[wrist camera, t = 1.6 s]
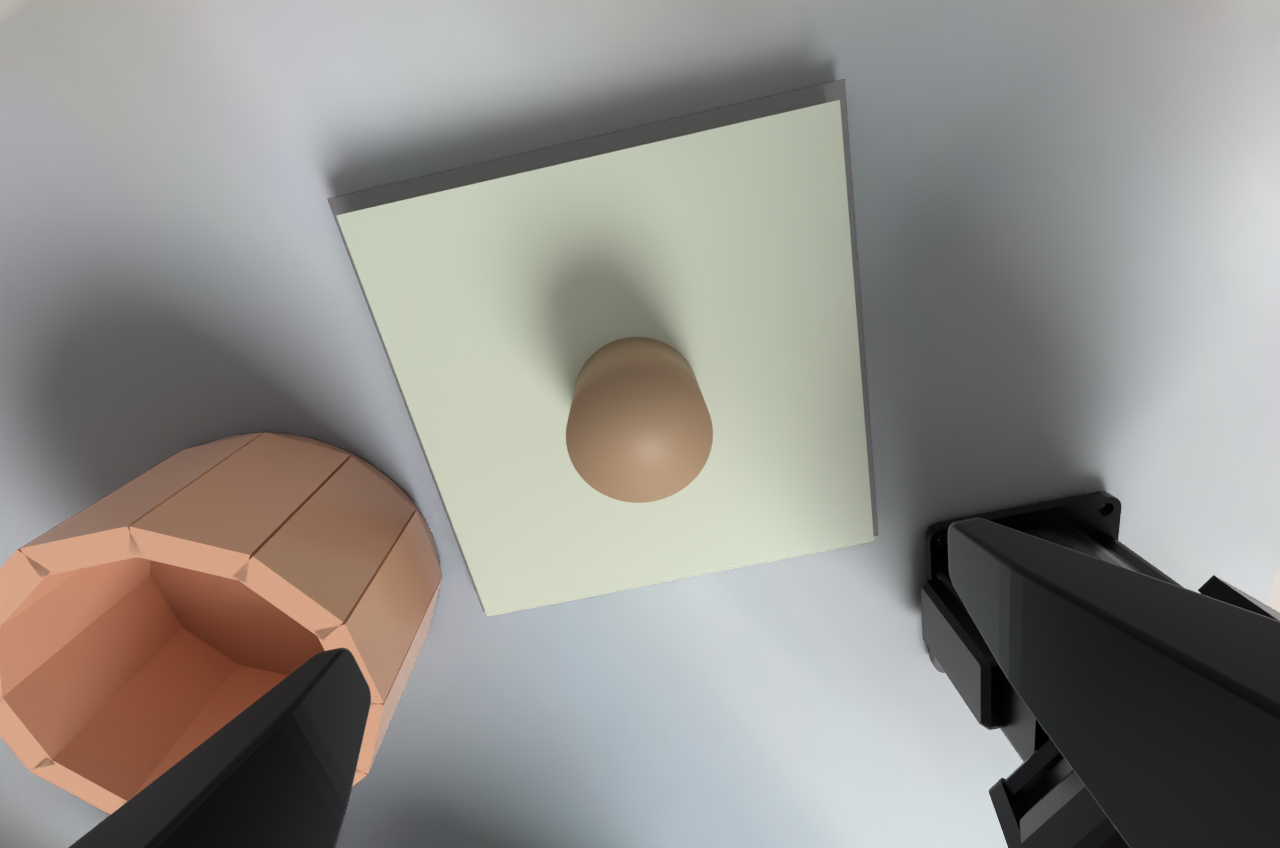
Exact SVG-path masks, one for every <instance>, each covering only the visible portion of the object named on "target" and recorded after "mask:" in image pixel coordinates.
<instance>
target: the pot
mask: <svg viewBox="0 0 1280 848" xmlns="http://www.w3.org/2000/svg"><path fill="white" fill-rule="evenodd" d="M441 580H442V573H441V568H440V561H439V555H438V551H437V548H436V544H435V541H434V538H433V536H432V533H431V531H430V529H429V527H428V525H427V523H426V521H425V519H424V518H423V516H422V515H421V513H420V512H419V510H418V509H417V507H416V506H415V504H414V503H413V502H412V501H411V500H410V498H409V497H408V496H407V495H406V494H405V492H404V491H403V490H402V489H401V488H399V487H398V486H397V485H396V484H395V483H394V482H393V481H392V480H391V479H390V478H389V477H388V476H386V475H385V474H383V473H382V472H381V471H379V470H378V469H377V468H375V467H374V466H373V465H371V464H369V463H368V462H366V461H364V460H363V459H361V458H359V457H358V456H356V455H354V454H352V453H350V452H348V451H345V450H343V449H341V448H339V447H336V446H334V445H331V444H328V443H325V442H322V441H319V440H316V439H312V438H307V437H303V436H298V435H293V434H283V433H273V432H265V433H263V432H262V433H246V434H239V435H233V436H228V437H225V438H221V439H218V440H214V441H211V442H209V443H207V444H204V445H201V446H196V447H191V448H186V449H183V450H181V451H180V452H178V453H176V454H175V455H173V456H172V457H170V458H168V459H167V460H165V461H163V462H162V463H160V464H158V465H157V466H155V467H153V468H152V469H150V470H148V471H147V472H145V473H143V474H142V475H140V476H138V477H137V478H135V479H133V480H132V481H130V482H129V483H127V484H125V485H124V486H122V487H120V488H119V489H117V490H115V491H114V492H112V493H110V494H109V495H107V496H105V497H104V498H102V499H100V500H99V501H97V502H95V503H94V504H92V505H90V506H89V507H87V508H86V509H84V510H82V511H81V512H79V513H77V514H76V515H74V516H72V517H71V518H69V519H67V520H66V521H64V522H62V523H61V524H59V525H57V526H56V527H54V528H52V529H51V530H49V531H48V532H46V533H44V534H43V535H41V536H39V537H38V538H36V539H34V540H33V541H31V542H29V543H28V544H26V545H24V546H23V547H21V548H19V549H18V550H17V551H16V552H15V553H14V554H13V555H12V556H11V557H10V559H9V560H8V561H7V562H6V563H5V564H4V565H3V567H2V568H1V569H0V736H1V738H2V739H3V740H4V741H5V743H6V744H7V745H8V746H9V747H10V749H11V750H12V751H13V752H14V753H15V755H16V756H17V757H18V758H19V760H20V761H21V762H22V763H23V764H24V766H25V767H26V768H27V769H28V770H29V769H32V770H31V771H30V772H32V773H34V774H36V775H38V776H39V777H41V778H43V779H45V780H47V781H49V782H51V783H52V784H54V785H56V786H58V787H60V788H62V789H64V790H65V791H67V792H69V793H71V794H73V795H75V796H77V797H78V798H80V799H82V800H84V801H86V802H88V803H90V804H91V805H93V806H95V807H97V808H99V809H101V810H103V811H104V812H106V813H108V814H110V815H111V814H112V813H113V812H115V811H116V810H117V809H119V808H120V807H121V806H122V805H124V804H125V803H126V802H128V801H129V800H130V799H131V798H133V797H134V796H135V795H136V794H138V793H139V792H140V791H142V790H143V789H144V788H145V787H147V786H148V785H149V784H151V783H152V782H153V781H154V780H156V779H157V778H158V777H159V776H161V775H162V774H163V773H165V772H166V771H167V770H168V769H170V768H171V767H172V766H173V765H175V764H176V763H177V762H179V761H180V760H181V759H182V758H184V757H185V756H186V755H188V754H189V753H190V752H191V751H193V750H194V749H195V748H196V747H198V746H199V745H200V744H202V743H203V742H204V741H205V740H207V739H208V738H209V737H211V736H212V735H213V734H214V733H216V732H217V731H218V730H219V729H221V728H222V727H223V726H225V725H226V724H227V723H228V722H230V721H231V720H232V719H233V718H235V717H236V716H237V715H239V714H240V713H241V712H242V711H244V710H245V709H246V708H248V707H249V706H250V705H251V704H253V703H254V702H255V701H256V700H258V699H259V698H260V697H262V696H263V695H264V694H265V693H267V692H268V691H269V690H271V689H272V688H273V687H274V686H276V685H277V684H278V683H279V682H281V681H282V680H283V679H285V678H286V677H287V676H288V675H290V674H291V673H292V672H294V671H295V670H296V669H297V668H299V667H300V666H301V665H302V664H304V663H305V662H306V661H308V660H309V659H310V658H311V657H313V656H314V655H315V654H317V653H319V652H322V651H327V650H332V649H337V648H347V649H348V650H350V651H351V652H352V654H353V656H354V658H355V660H356V662H357V664H358V666H359V668H360V669H361V671H362V673H363V675H364V677H365V679H366V681H367V683H368V685H369V688H370V692H371V704H370V709H369V714H368V718H367V723H366V727H365V732H364V736H363V741H362V745H361V750H360V754H359V759H358V763H357V768H356V772H355V777H354V781H353V786H354V785H355V784H357V783H358V782H359V781H360V780H362V779H363V778H364V777H366V776H367V774H368V773H369V771H370V768H371V766H372V764H373V761H374V759H375V757H376V754H377V752H378V750H379V747H380V745H381V743H382V740H383V738H384V736H385V733H386V731H387V729H388V726H389V724H390V722H391V719H392V717H393V715H394V712H395V710H396V708H397V705H398V703H399V701H400V698H401V696H402V694H403V691H404V689H405V687H406V684H407V682H408V680H409V677H410V675H411V673H412V670H413V668H414V666H415V663H416V661H417V659H418V656H419V654H420V652H421V649H422V647H423V645H424V642H425V640H426V638H427V635H428V632H429V628H430V624H431V620H432V616H433V613H434V610H435V607H436V604H437V601H438V597H439V591H440V585H441ZM353 786H352V787H353Z"/></svg>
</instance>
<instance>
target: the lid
mask: <svg viewBox="0 0 1280 848" xmlns="http://www.w3.org/2000/svg"><path fill="white" fill-rule="evenodd" d="M336 217H337V219H338V222H339V225H340V227H341V230H342V233H343V235H344V238H345V241H346V243H347V246H348V249H349V251H350V254H351V257H352V259H353V262H354V265H355V267H356V270H357V272H358V275H359V278H360V280H361V283H362V286H363V288H364V291H365V294H366V296H367V299H368V302H369V304H370V307H371V310H372V312H373V315H374V318H375V320H376V323H377V326H378V328H379V331H380V334H381V336H382V339H383V342H384V344H385V347H386V349H387V352H388V355H389V357H390V360H391V363H392V365H393V368H394V371H395V373H396V376H397V379H398V381H399V384H400V387H401V389H402V392H403V395H404V397H405V400H406V403H407V405H408V408H409V411H410V413H411V416H412V418H413V421H414V424H415V426H416V429H417V432H418V434H419V437H420V440H421V442H422V445H423V448H424V450H425V453H426V456H427V458H428V461H429V464H430V466H431V469H432V472H433V474H434V477H435V480H436V482H437V485H438V488H439V490H440V493H441V495H442V498H443V501H444V503H445V506H446V509H447V511H448V514H449V517H450V519H451V522H452V525H453V527H454V530H455V533H456V535H457V538H458V541H459V543H460V546H461V549H462V551H463V554H464V557H465V559H466V562H467V564H468V567H469V570H470V572H471V575H472V578H473V580H474V583H475V586H476V588H477V591H478V594H479V596H480V599H481V602H482V604H483V607H484V610H485V612H486V615H487V617H488V616H494V615H499V614H504V613H509V612H514V611H519V610H525V609H530V608H535V607H540V606H545V605H550V604H556V603H561V602H566V601H571V600H576V599H581V598H587V597H592V596H597V595H602V594H607V593H612V592H617V591H623V590H628V589H633V588H638V587H643V586H648V585H654V584H659V583H664V582H669V581H674V580H679V579H685V578H690V577H695V576H700V575H705V574H710V573H716V572H721V571H726V570H731V569H736V568H741V567H747V566H752V565H757V564H762V563H767V562H772V561H778V560H783V559H788V558H793V557H798V556H803V555H808V554H814V553H819V552H824V551H829V550H834V549H839V548H845V547H850V546H855V545H860V544H865V543H870V542H874V534H873V521H872V508H871V495H870V483H869V470H868V457H867V444H866V431H865V418H864V405H863V392H862V379H861V366H860V353H859V340H858V327H857V315H856V302H855V289H854V276H853V263H852V250H851V237H850V224H849V211H848V198H847V185H846V172H845V160H844V147H843V134H842V121H841V108H840V100H837V101H832V102H828V103H824V104H819V105H815V106H811V107H806V108H802V109H798V110H793V111H789V112H784V113H780V114H776V115H771V116H767V117H763V118H758V119H754V120H750V121H745V122H741V123H737V124H732V125H728V126H724V127H719V128H715V129H710V130H706V131H702V132H697V133H693V134H689V135H684V136H680V137H676V138H671V139H667V140H663V141H658V142H654V143H650V144H645V145H641V146H636V147H632V148H628V149H623V150H619V151H615V152H610V153H606V154H602V155H597V156H593V157H589V158H584V159H580V160H576V161H571V162H567V163H562V164H558V165H554V166H549V167H545V168H541V169H536V170H532V171H528V172H523V173H519V174H515V175H510V176H506V177H502V178H497V179H493V180H488V181H484V182H480V183H475V184H471V185H467V186H462V187H458V188H454V189H449V190H445V191H441V192H436V193H432V194H428V195H423V196H419V197H415V198H410V199H406V200H401V201H397V202H393V203H388V204H384V205H380V206H375V207H371V208H367V209H362V210H358V211H354V212H349V213H345V214H341V215H336Z"/></svg>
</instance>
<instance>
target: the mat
mask: <svg viewBox="0 0 1280 848" xmlns="http://www.w3.org/2000/svg"><path fill="white" fill-rule="evenodd" d="M837 100H840V108H841V121H842V134H843V147H844V160H845V172H846V185H847V198H848V211H849V224H850V237H851V250H852V263H853V276H854V289H855V302H856V315H857V327H858V340H859V353H860V366H861V379H862V392H863V405H864V418H865V431H866V444H867V457H868V470H869V483H870V495H871V508H872V521H873V534H874V536H877V535H878V526H877V512H876V499H875V485H874V472H873V458H872V445H871V431H870V418H869V404H868V391H867V377H866V364H865V350H864V337H863V323H862V310H861V296H860V283H859V269H858V256H857V242H856V229H855V215H854V202H853V188H852V175H851V161H850V148H849V134H848V121H847V107H846V94H845V80H844V79H842V80H838V81H834V82H829V83H825V84H821V85H816V86H812V87H808V88H804V89H799V90H795V91H791V92H786V93H782V94H778V95H773V96H769V97H765V98H760V99H756V100H752V101H747V102H743V103H739V104H734V105H730V106H726V107H721V108H717V109H713V110H708V111H704V112H700V113H695V114H691V115H687V116H682V117H678V118H674V119H670V120H665V121H661V122H657V123H652V124H648V125H644V126H639V127H635V128H631V129H626V130H622V131H618V132H613V133H609V134H605V135H600V136H596V137H592V138H587V139H583V140H579V141H574V142H570V143H566V144H561V145H557V146H553V147H548V148H544V149H540V150H536V151H531V152H527V153H523V154H518V155H514V156H510V157H505V158H501V159H497V160H492V161H488V162H484V163H479V164H475V165H471V166H466V167H462V168H458V169H453V170H449V171H445V172H440V173H436V174H432V175H427V176H423V177H419V178H414V179H410V180H406V181H401V182H397V183H393V184H389V185H384V186H380V187H376V188H371V189H367V190H363V191H358V192H354V193H350V194H345V195H341V196H337V197H332V198H328V202H329V204H330V207H331V210H332V212H333V215H334V218H335V220H336V223H337V226H338V228H339V231H340V234H341V236H342V239H343V241H344V244H345V247H346V249H347V252H348V255H349V257H350V260H351V263H352V265H353V268H354V271H355V273H356V276H357V278H358V281H359V284H360V286H361V289H362V292H363V294H364V297H365V300H366V302H367V305H368V308H369V310H370V313H371V316H372V318H373V321H374V323H375V326H376V329H377V331H378V334H379V337H380V339H381V342H382V345H383V347H384V350H385V353H386V355H387V358H388V360H389V363H390V366H391V368H392V371H393V374H394V376H395V379H396V382H397V384H398V387H399V390H400V392H401V395H402V398H403V400H404V403H405V405H406V408H407V411H408V413H409V416H410V419H411V421H412V424H413V427H414V429H415V432H416V435H417V437H418V440H419V442H420V445H421V448H422V450H423V453H424V456H425V458H426V461H427V464H428V466H429V469H430V472H431V474H432V477H433V480H434V482H435V485H436V487H437V490H438V493H439V495H440V498H441V501H442V503H443V506H444V509H445V511H446V514H447V517H448V519H449V522H450V524H451V527H452V530H453V532H454V535H455V538H456V540H457V543H458V546H459V548H460V551H461V554H462V556H463V559H464V561H465V564H466V567H467V569H468V572H469V575H470V577H471V580H472V583H473V585H474V588H475V591H476V593H477V596H478V599H479V601H480V604H481V606H482V609H483V612H485V610H484V607H483V604H482V602H481V599H480V596H479V594H478V591H477V588H476V586H475V583H474V580H473V578H472V575H471V572H470V570H469V567H468V564H467V562H466V559H465V557H464V554H463V551H462V549H461V546H460V543H459V541H458V538H457V535H456V533H455V530H454V527H453V525H452V522H451V519H450V517H449V514H448V511H447V509H446V506H445V503H444V501H443V498H442V495H441V493H440V490H439V488H438V485H437V482H436V480H435V477H434V474H433V472H432V469H431V466H430V464H429V461H428V458H427V456H426V453H425V450H424V448H423V445H422V442H421V440H420V437H419V434H418V432H417V429H416V426H415V424H414V421H413V418H412V416H411V413H410V411H409V408H408V405H407V403H406V400H405V397H404V395H403V392H402V389H401V387H400V384H399V381H398V379H397V376H396V373H395V371H394V368H393V365H392V363H391V360H390V357H389V355H388V352H387V349H386V347H385V344H384V342H383V339H382V336H381V334H380V331H379V328H378V326H377V323H376V320H375V318H374V315H373V312H372V310H371V307H370V304H369V302H368V299H367V296H366V294H365V291H364V288H363V286H362V283H361V280H360V278H359V275H358V272H357V270H356V267H355V265H354V262H353V259H352V257H351V254H350V251H349V249H348V246H347V243H346V241H345V238H344V235H343V233H342V230H341V227H340V225H339V222H338V219H337V217H336V215H341V214H345V213H349V212H354V211H358V210H362V209H367V208H371V207H375V206H380V205H384V204H388V203H393V202H397V201H401V200H406V199H410V198H415V197H419V196H423V195H428V194H432V193H436V192H441V191H445V190H449V189H454V188H458V187H462V186H467V185H471V184H475V183H480V182H484V181H488V180H493V179H497V178H502V177H506V176H510V175H515V174H519V173H523V172H528V171H532V170H536V169H541V168H545V167H549V166H554V165H558V164H562V163H567V162H571V161H576V160H580V159H584V158H589V157H593V156H597V155H602V154H606V153H610V152H615V151H619V150H623V149H628V148H632V147H636V146H641V145H645V144H650V143H654V142H658V141H663V140H667V139H671V138H676V137H680V136H684V135H689V134H693V133H697V132H702V131H706V130H710V129H715V128H719V127H724V126H728V125H732V124H737V123H741V122H745V121H750V120H754V119H758V118H763V117H767V116H771V115H776V114H780V113H784V112H789V111H793V110H798V109H802V108H806V107H811V106H815V105H819V104H824V103H828V102H832V101H837Z"/></svg>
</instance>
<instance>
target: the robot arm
mask: <svg viewBox="0 0 1280 848" xmlns="http://www.w3.org/2000/svg"><path fill="white" fill-rule="evenodd" d="M1103 504H1105V505H1104V506H1103V507H1102V508H1101V509H1100V507H1101V506H1102V505H1103ZM1120 514H1121V502H1120V501H1119V500H1118V499H1117V498H1116V497H1114V496H1113V495H1111V494H1109V493H1107V492H1105V491H1098V492H1093V493H1088V494H1083V495H1078V496H1073V497H1067V498H1062V499H1057V500H1052V501H1047V502H1042V503H1037V504H1031V505H1026V506H1021V507H1016V508H1011V509H1006V510H1000V511H995V512H990V513H985V514H980V515H975V516H970V517H964V518H959V519H954V520H949V521H944V522H939V523H936V524H933V525H932V526H931V527H929V528H928V530H927V531H926V533H925V559H926V581H924V583H923V584H922V586H921V604H922V626H923V639H924V641H925V643H926V644H927V646H928V647H929V657H930V660H931V662H932V664H933V665H934V667H935V668H936V669H937V670H938V671H939V672H942V673H946V674H947V676H948V677H949V679H950V680H951V682H952V683H953V685H954V686H955V688H956V689H957V691H958V692H959V694H960V695H961V697H962V698H963V700H964V701H965V703H966V704H967V706H968V707H969V709H970V710H971V712H972V713H973V715H974V716H975V718H976V719H977V721H978V722H979V723H980V724H981V725H982V726H984V727H985V728H987V729H989V730H991V729H997V728H1000V729H1001V730H1002V731H1003V733H1004V734H1005V736H1006V737H1007V739H1008V740H1009V742H1010V743H1011V744H1012V746H1013V747H1014V749H1015V750H1016V752H1017V753H1018V754H1019V756H1020V757H1021V759H1022V760H1023V762H1024V763H1022V764H1021V765H1020V766H1019V767H1018V768H1017V769H1016V770H1015V771H1014V772H1013V773H1012V774H1011V775H1010V776H1009V777H1008V778H1007V779H1003V778H1001V779H1000V780H999V781H998V782H997V783H996V784H995V785H994V786H993V787H992V788H991V789H990V790H989V794H990V797H991V800H992V802H993V805H994V808H995V811H996V814H997V817H998V819H999V822H1000V825H1001V828H1002V831H1003V834H1004V837H1005V839H1006V842H1007V845H1008V848H1280V613H1279V612H1277V611H1276V610H1274V609H1272V608H1270V607H1269V606H1267V605H1265V604H1263V603H1262V602H1260V601H1258V600H1256V599H1255V598H1253V597H1251V596H1249V595H1248V594H1246V593H1244V592H1242V591H1241V590H1239V589H1237V588H1235V587H1234V586H1232V585H1230V584H1228V583H1227V582H1225V581H1223V580H1221V579H1220V578H1218V577H1216V576H1214V575H1213V576H1212V577H1211V578H1210V579H1209V580H1208V581H1207V582H1206V583H1205V584H1204V585H1203V586H1202V587H1201V588H1200V589H1199V590H1198V591H1199V592H1200V593H1201V594H1199V593H1197V592H1194V591H1191V590H1188V589H1185V588H1184V587H1182V586H1181V585H1179V584H1178V583H1177V582H1175V581H1174V580H1172V579H1171V578H1170V577H1168V576H1167V575H1165V574H1164V573H1163V572H1161V571H1160V570H1158V569H1157V568H1156V567H1154V566H1153V565H1151V564H1150V563H1149V562H1147V561H1146V560H1144V559H1143V558H1142V557H1140V556H1139V555H1137V554H1136V553H1135V552H1133V551H1132V550H1130V549H1129V548H1128V547H1126V546H1125V545H1123V544H1122V543H1121V542H1119V541H1118V534H1119V524H1120ZM942 535H946V536H945V537H944V538H943V539H942V540H940V541H937V540H938V538H939V537H940V536H942ZM370 704H371V692H370V688H369V685H368V683H367V681H366V679H365V677H364V675H363V673H362V671H361V669H360V668H359V666H358V664H357V662H356V660H355V658H354V656H353V654H352V652H351V651H350V650H348V649H347V648H337V649H332V650H327V651H322V652H319V653H317V654H315V655H314V656H313V657H311V658H310V659H309V660H308V661H306V662H305V663H304V664H302V665H301V666H300V667H299V668H297V669H296V670H295V671H294V672H292V673H291V674H290V675H288V676H287V677H286V678H285V679H283V680H282V681H281V682H279V683H278V684H277V685H276V686H274V687H273V688H272V689H271V690H269V691H268V692H267V693H265V694H264V695H263V696H262V697H260V698H259V699H258V700H256V701H255V702H254V703H253V704H251V705H250V706H249V707H248V708H246V709H245V710H244V711H242V712H241V713H240V714H239V715H237V716H236V717H235V718H233V719H232V720H231V721H230V722H228V723H227V724H226V725H225V726H223V727H222V728H221V729H219V730H218V731H217V732H216V733H214V734H213V735H212V736H211V737H209V738H208V739H207V740H205V741H204V742H203V743H202V744H200V745H199V746H198V747H196V748H195V749H194V750H193V751H191V752H190V753H189V754H188V755H186V756H185V757H184V758H182V759H181V760H180V761H179V762H177V763H176V764H175V765H173V766H172V767H171V768H170V769H168V770H167V771H166V772H165V773H163V774H162V775H161V776H159V777H158V778H157V779H156V780H154V781H153V782H152V783H151V784H149V785H148V786H147V787H145V788H144V789H143V790H142V791H140V792H139V793H138V794H136V795H135V796H134V797H133V798H131V799H130V800H129V801H128V802H126V803H125V804H124V805H122V806H121V807H120V808H119V809H117V810H116V811H115V812H113V813H112V814H111V815H110V816H108V817H107V818H106V819H105V820H103V821H102V822H101V823H99V824H98V825H97V826H96V827H94V828H93V829H92V830H90V831H89V832H88V833H87V834H85V835H84V836H83V837H82V838H80V839H79V840H78V841H76V842H75V843H74V844H73V845H71V846H70V847H69V848H335V845H336V842H337V839H338V835H339V832H340V829H341V826H342V823H343V819H344V816H345V813H346V809H347V806H348V802H349V798H350V794H351V790H352V786H353V781H354V777H355V772H356V768H357V763H358V759H359V754H360V750H361V745H362V741H363V736H364V732H365V727H366V723H367V718H368V714H369V709H370Z"/></svg>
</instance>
